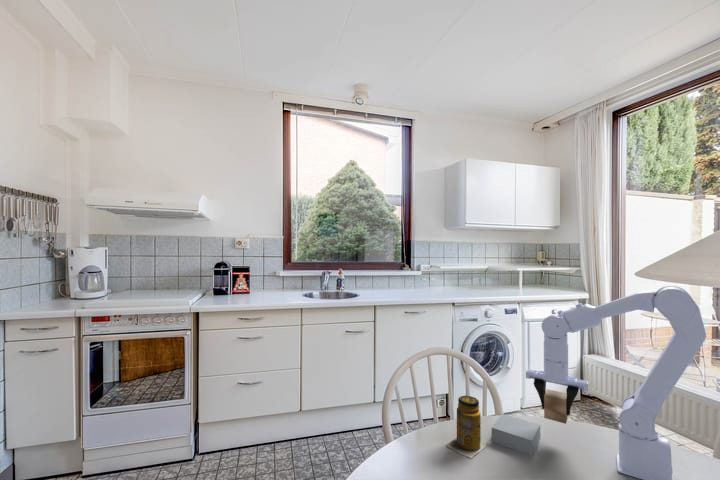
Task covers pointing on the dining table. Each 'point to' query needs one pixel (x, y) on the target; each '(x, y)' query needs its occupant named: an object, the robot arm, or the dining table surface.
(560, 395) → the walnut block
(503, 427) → the slate box
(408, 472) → the dining table surface
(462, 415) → the condiment
